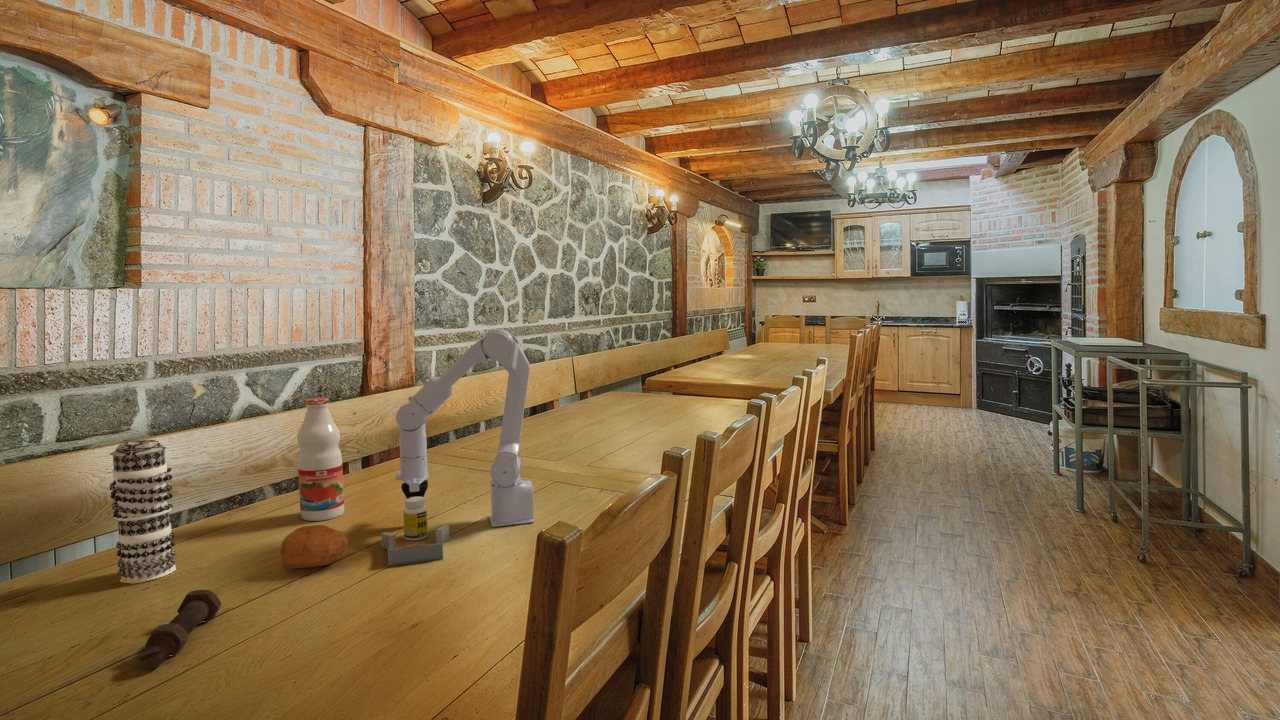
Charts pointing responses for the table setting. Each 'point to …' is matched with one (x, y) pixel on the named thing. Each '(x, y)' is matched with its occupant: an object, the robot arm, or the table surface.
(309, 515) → the fruit juice
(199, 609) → the bolt
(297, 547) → the potato
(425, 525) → the supplement bottle
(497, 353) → the robot arm
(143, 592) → the table surface
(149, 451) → the decorative candle
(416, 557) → the steel bracket
